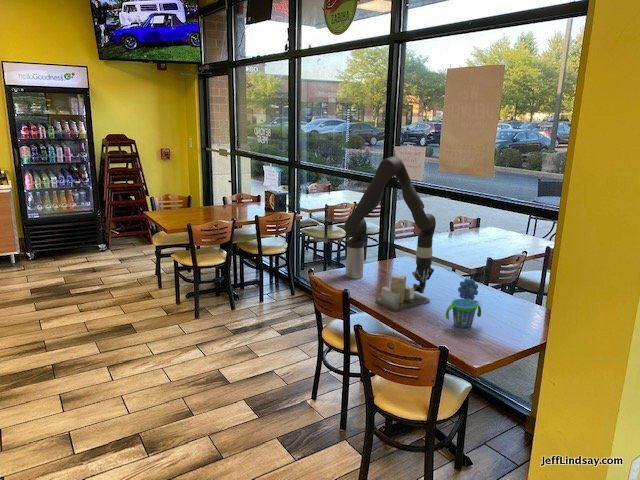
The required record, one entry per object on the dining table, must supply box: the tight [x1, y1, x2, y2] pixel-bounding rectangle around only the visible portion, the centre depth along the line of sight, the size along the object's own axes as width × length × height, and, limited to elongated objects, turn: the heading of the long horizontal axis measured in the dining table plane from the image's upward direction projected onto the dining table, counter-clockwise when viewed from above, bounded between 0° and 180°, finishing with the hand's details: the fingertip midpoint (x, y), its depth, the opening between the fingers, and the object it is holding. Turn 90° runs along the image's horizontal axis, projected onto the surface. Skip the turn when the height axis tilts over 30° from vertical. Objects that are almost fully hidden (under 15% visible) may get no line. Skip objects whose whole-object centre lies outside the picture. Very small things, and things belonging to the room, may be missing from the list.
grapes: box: [457, 277, 479, 301], centre depth 232 cm, size 12×7×12 cm, turn 111°
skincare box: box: [390, 273, 407, 303], centre depth 228 cm, size 6×4×12 cm
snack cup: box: [445, 298, 482, 329], centre depth 206 cm, size 16×10×10 cm
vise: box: [375, 286, 431, 312], centre depth 231 cm, size 14×22×8 cm, turn 122°
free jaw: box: [404, 283, 425, 302], centre depth 234 cm, size 10×11×6 cm
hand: (422, 288), depth 238 cm, fingers closed
